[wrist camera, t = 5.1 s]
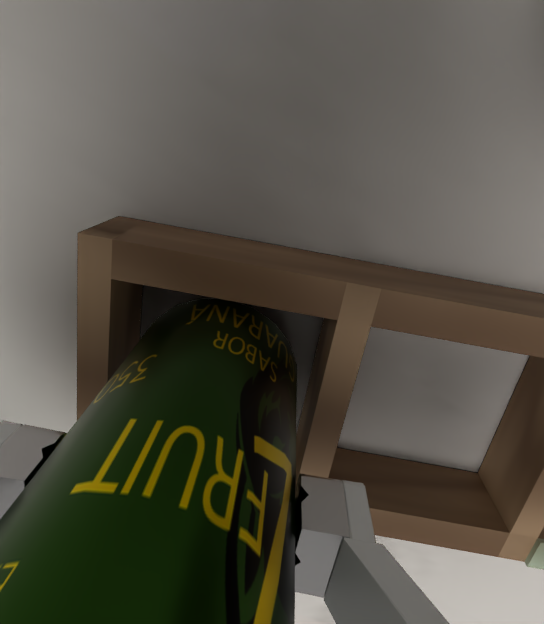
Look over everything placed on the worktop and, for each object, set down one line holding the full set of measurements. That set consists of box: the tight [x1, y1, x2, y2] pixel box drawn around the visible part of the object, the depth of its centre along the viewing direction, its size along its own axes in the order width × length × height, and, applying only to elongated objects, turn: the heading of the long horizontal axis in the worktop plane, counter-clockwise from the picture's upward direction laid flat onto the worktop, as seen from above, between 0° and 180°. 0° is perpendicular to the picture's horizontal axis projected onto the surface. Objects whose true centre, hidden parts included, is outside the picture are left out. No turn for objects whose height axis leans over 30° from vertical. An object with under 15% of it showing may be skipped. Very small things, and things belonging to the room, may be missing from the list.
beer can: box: [0, 298, 297, 624], centre depth 10 cm, size 5×5×12 cm
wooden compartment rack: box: [77, 216, 544, 570], centre depth 15 cm, size 9×24×3 cm, turn 80°
